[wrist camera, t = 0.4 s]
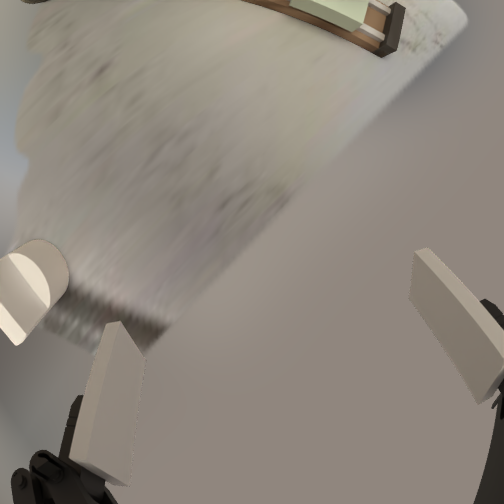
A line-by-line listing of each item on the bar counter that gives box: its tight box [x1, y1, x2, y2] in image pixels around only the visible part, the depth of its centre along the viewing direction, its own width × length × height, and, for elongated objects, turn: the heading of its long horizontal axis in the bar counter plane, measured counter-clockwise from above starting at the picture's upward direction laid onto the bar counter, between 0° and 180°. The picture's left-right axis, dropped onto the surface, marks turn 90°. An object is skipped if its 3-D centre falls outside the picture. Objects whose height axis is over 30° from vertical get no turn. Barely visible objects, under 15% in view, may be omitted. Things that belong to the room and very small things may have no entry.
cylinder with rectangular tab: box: [0, 239, 69, 345], centre depth 29 cm, size 9×9×12 cm
